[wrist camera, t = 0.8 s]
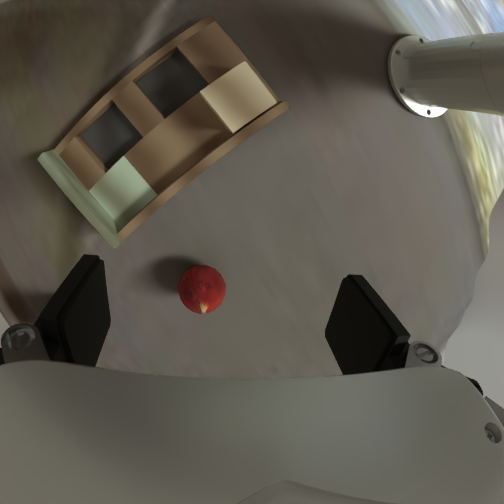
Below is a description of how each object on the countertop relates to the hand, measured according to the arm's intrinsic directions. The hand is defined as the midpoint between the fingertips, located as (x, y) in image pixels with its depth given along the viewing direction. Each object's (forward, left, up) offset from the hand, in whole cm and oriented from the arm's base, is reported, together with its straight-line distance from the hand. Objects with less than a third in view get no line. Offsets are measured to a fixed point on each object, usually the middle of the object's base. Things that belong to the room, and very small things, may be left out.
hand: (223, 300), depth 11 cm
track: (+1, -9, -26) cm, 27 cm away
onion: (+9, +9, -26) cm, 29 cm away
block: (-7, -6, -23) cm, 25 cm away
